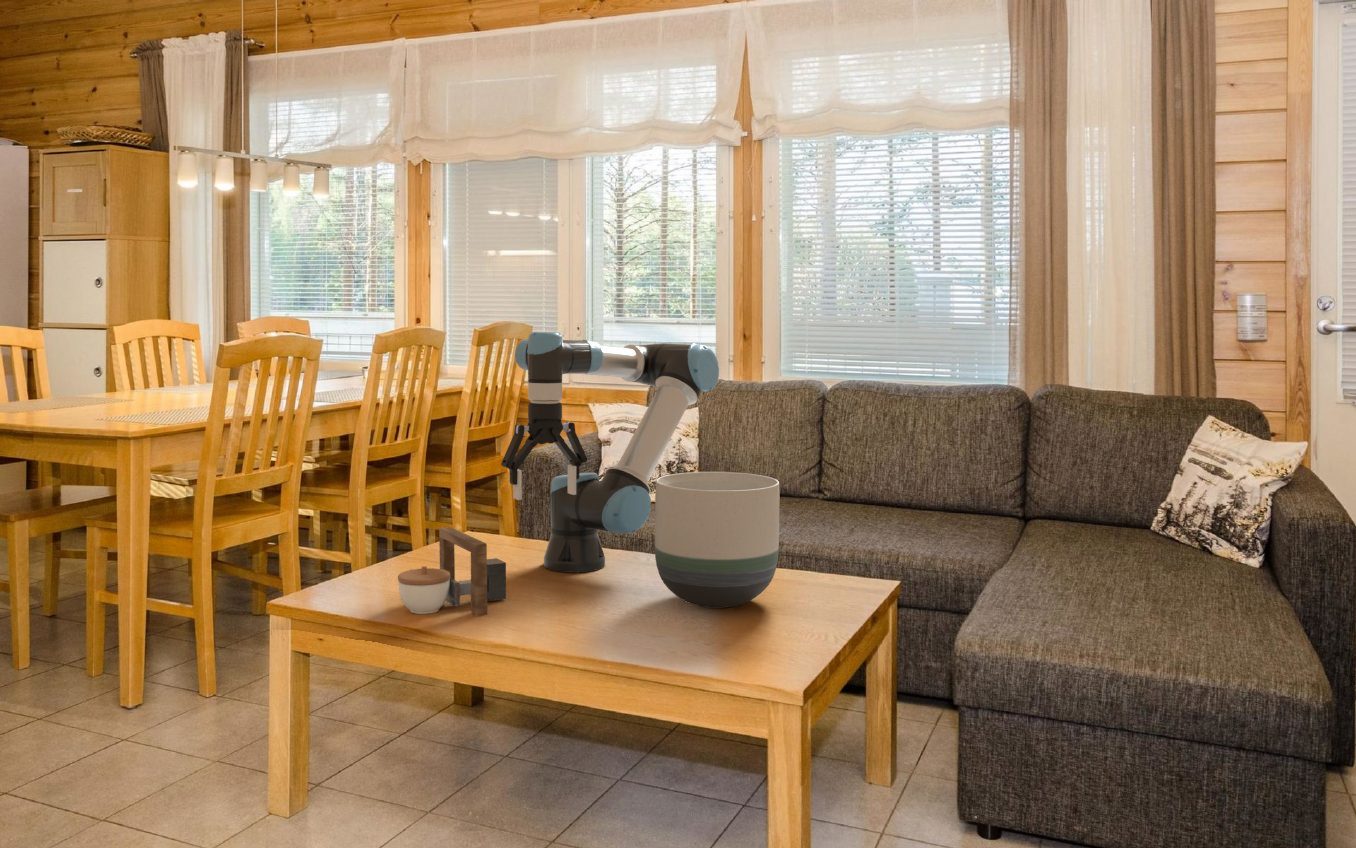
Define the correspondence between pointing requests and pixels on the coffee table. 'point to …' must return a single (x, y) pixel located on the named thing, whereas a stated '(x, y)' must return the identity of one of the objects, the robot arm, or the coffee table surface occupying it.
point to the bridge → (478, 564)
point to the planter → (716, 536)
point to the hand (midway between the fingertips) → (545, 496)
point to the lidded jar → (424, 589)
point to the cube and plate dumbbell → (494, 583)
